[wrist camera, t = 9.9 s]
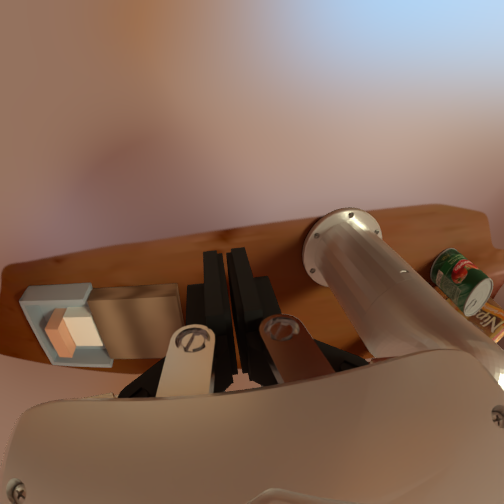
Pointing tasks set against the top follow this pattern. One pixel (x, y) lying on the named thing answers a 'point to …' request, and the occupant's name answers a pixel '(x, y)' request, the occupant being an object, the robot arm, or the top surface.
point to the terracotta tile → (60, 334)
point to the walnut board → (137, 319)
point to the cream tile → (82, 326)
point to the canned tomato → (461, 281)
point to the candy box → (487, 319)
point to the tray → (40, 310)
